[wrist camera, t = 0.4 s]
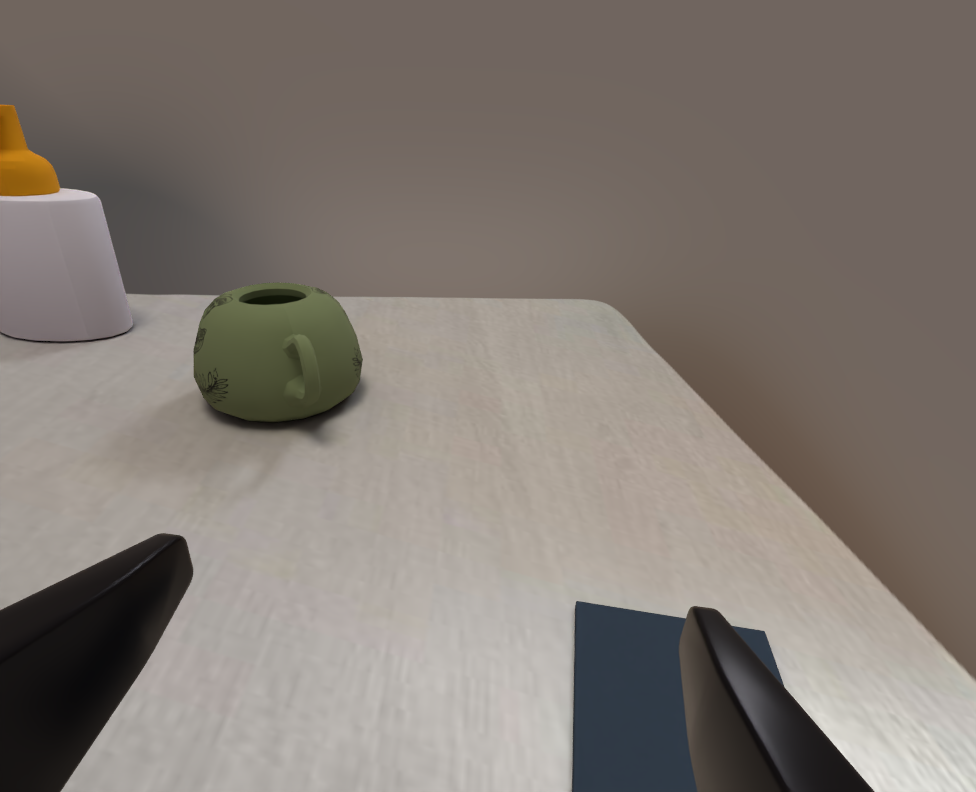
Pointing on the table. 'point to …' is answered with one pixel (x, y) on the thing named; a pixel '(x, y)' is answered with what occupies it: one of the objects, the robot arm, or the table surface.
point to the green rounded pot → (276, 353)
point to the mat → (634, 700)
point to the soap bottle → (53, 252)
